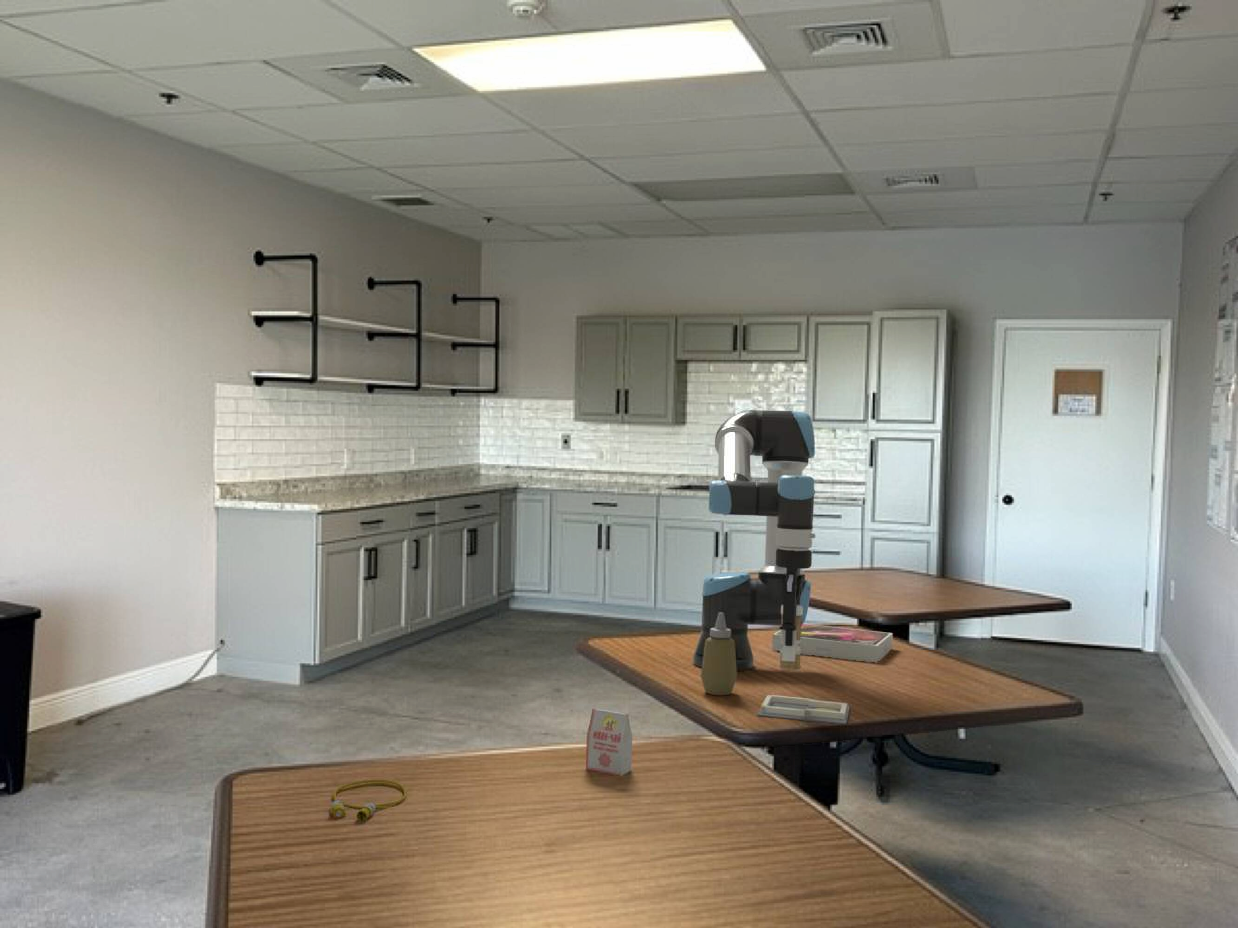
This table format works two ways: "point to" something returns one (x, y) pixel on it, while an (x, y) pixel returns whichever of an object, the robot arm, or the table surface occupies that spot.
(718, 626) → the squeeze bottle
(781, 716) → the keyhole track
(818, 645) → the product packaging
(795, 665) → the sprinkles bottle
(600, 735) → the white paper bag
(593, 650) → the table surface
